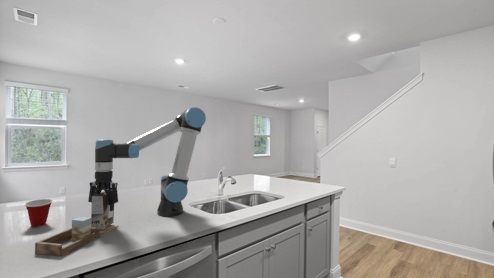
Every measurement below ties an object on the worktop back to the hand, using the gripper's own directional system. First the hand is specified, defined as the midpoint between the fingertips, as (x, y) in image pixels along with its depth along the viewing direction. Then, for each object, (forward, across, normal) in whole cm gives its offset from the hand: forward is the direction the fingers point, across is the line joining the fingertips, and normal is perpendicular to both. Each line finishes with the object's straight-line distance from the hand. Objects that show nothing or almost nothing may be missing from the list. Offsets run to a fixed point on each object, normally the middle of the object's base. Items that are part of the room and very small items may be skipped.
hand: (102, 216), depth 114 cm
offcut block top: (0, -1, -11) cm, 11 cm away
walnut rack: (+6, -1, -17) cm, 18 cm away
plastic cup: (+6, -36, -1) cm, 37 cm away
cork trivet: (+6, 0, 0) cm, 6 cm away
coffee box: (+5, 0, 0) cm, 5 cm away
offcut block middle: (+3, -1, -11) cm, 12 cm away
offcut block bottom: (+6, -1, -11) cm, 13 cm away
